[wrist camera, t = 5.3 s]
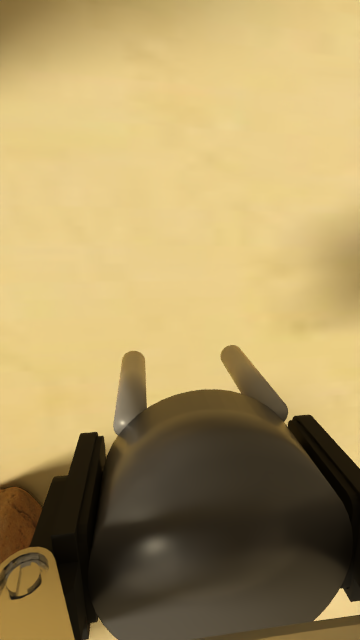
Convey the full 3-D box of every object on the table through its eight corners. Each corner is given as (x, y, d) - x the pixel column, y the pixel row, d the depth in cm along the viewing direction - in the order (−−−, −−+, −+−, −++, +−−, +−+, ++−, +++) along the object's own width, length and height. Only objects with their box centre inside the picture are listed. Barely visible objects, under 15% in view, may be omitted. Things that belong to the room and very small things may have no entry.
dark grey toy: (108, 341, 15) (73, 468, 7) (253, 333, 15) (368, 441, 8) (118, 467, 16) (99, 682, 9) (248, 455, 17) (338, 645, 9)
